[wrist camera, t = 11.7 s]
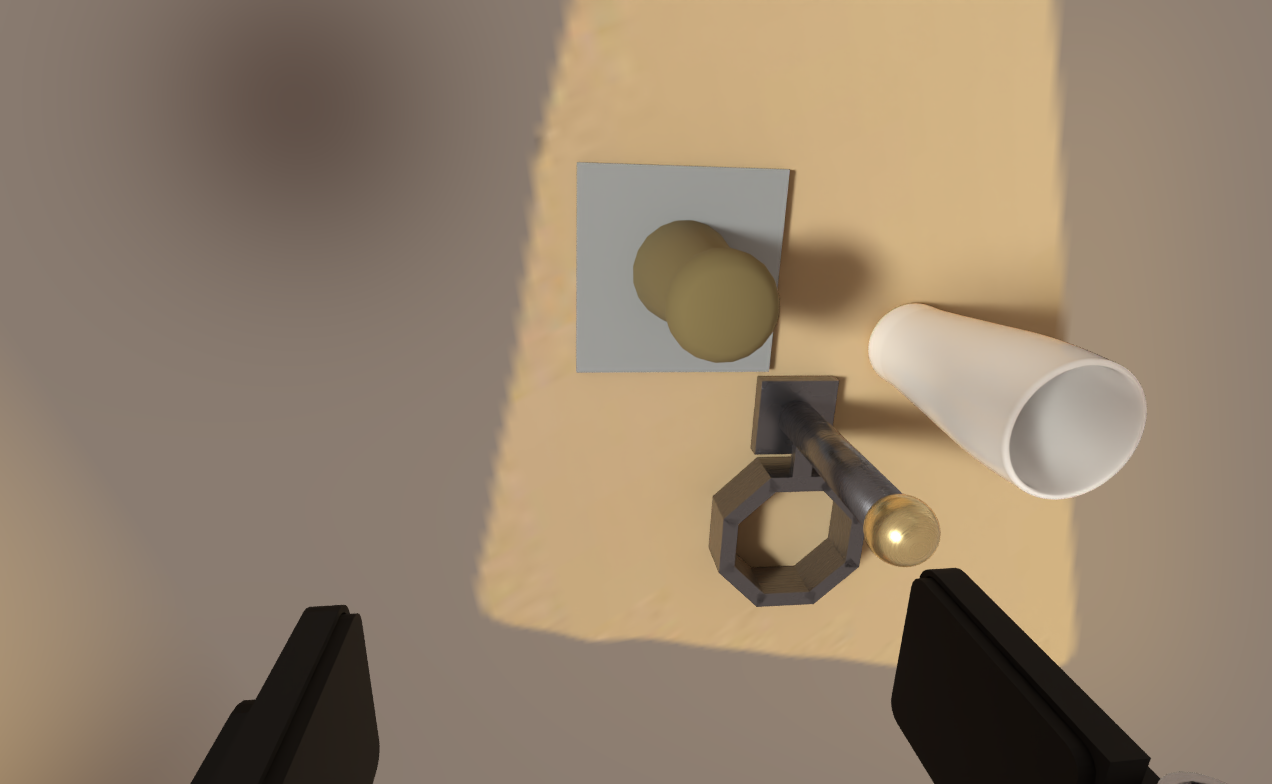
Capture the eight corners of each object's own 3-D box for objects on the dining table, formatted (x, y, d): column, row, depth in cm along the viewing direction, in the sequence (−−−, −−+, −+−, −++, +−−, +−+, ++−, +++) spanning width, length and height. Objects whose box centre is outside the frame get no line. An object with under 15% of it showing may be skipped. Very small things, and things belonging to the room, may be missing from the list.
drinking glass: (956, 282, 42) (1161, 345, 28) (952, 382, 44) (1139, 489, 30) (852, 298, 41) (1008, 371, 27) (853, 399, 44) (997, 514, 29)
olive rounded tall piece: (661, 201, 37) (702, 217, 27) (752, 247, 39) (824, 280, 28) (615, 297, 39) (637, 348, 28) (704, 339, 40) (757, 401, 30)
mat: (577, 162, 37) (577, 162, 36) (786, 169, 38) (789, 169, 38) (576, 369, 41) (576, 372, 40) (766, 368, 42) (768, 371, 41)
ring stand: (722, 376, 42) (818, 500, 27) (866, 375, 43) (1037, 494, 28) (705, 581, 47) (779, 784, 32) (835, 576, 48) (965, 768, 33)
